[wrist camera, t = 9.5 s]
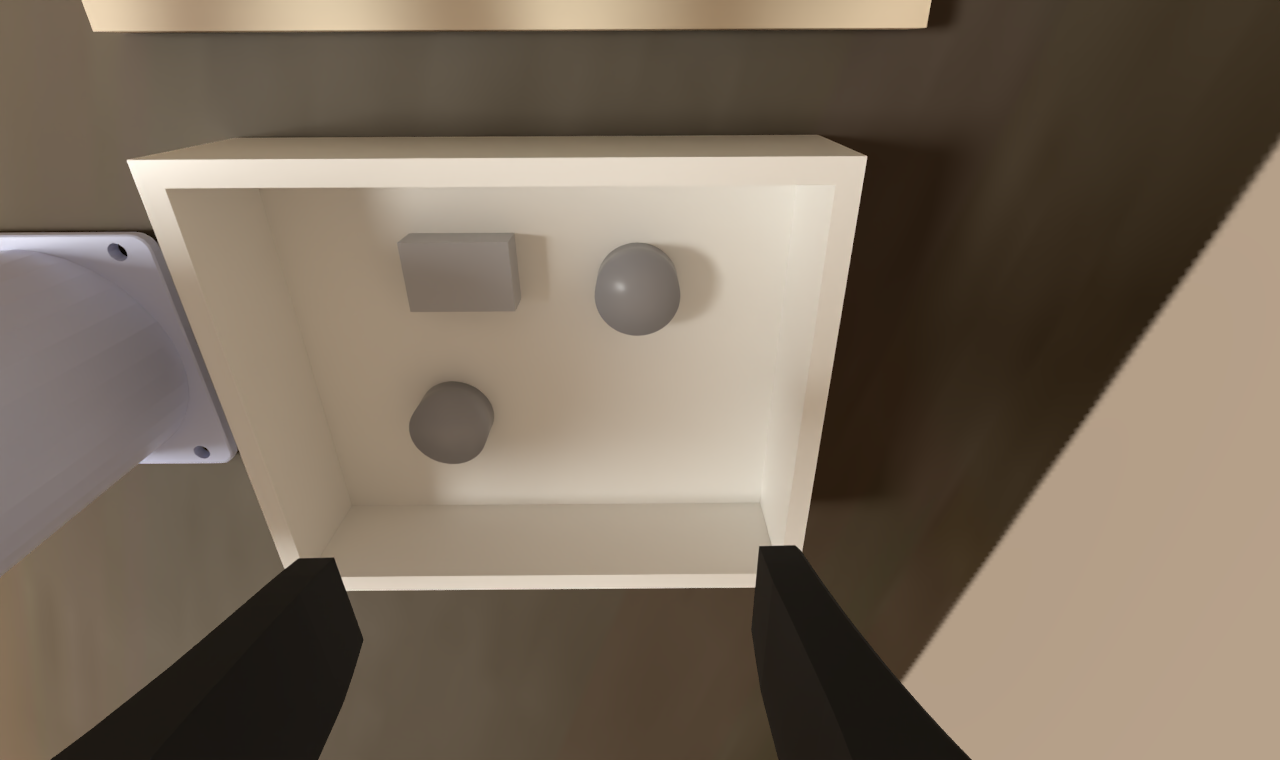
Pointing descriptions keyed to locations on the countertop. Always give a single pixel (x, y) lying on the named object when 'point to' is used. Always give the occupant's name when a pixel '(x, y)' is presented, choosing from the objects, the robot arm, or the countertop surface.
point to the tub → (518, 346)
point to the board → (500, 15)
